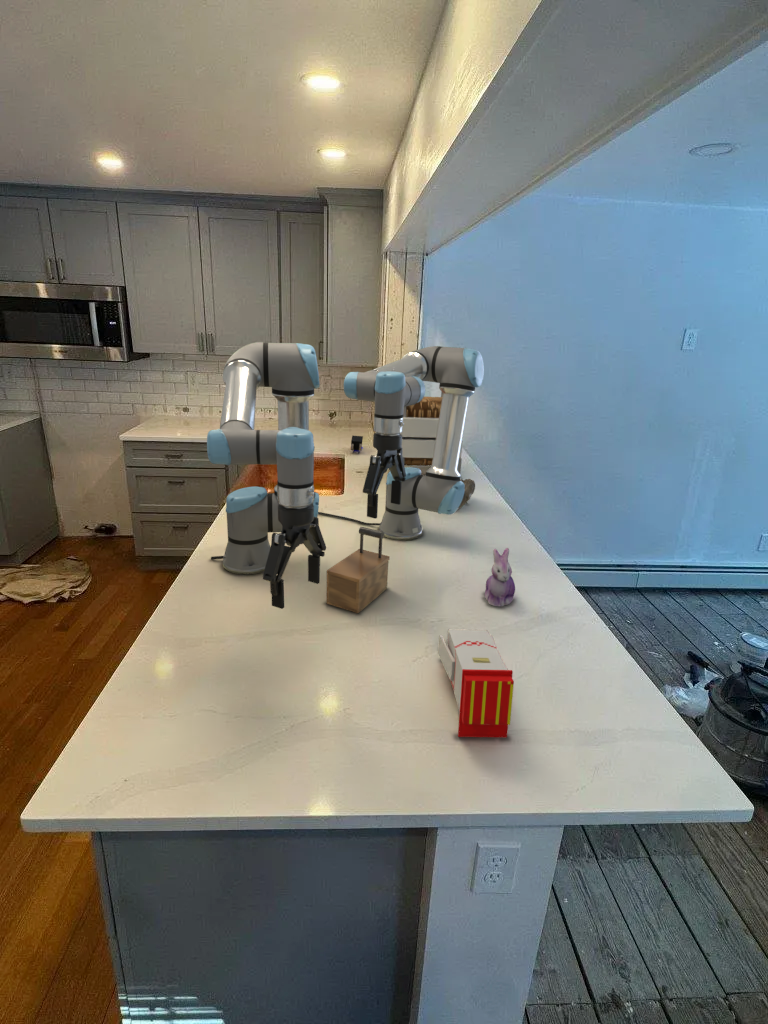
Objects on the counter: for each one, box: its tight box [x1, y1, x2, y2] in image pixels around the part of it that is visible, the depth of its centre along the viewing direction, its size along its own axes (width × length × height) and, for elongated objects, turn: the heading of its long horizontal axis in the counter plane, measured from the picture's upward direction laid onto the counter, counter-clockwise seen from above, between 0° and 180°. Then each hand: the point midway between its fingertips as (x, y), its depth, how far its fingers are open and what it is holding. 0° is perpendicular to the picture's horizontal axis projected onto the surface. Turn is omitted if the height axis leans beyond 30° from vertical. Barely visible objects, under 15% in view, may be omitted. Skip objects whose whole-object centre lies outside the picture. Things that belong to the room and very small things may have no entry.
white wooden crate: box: [400, 391, 465, 475], centre depth 268 cm, size 34×33×41 cm
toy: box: [437, 628, 515, 738], centre depth 117 cm, size 12×13×30 cm
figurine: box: [484, 547, 516, 607], centre depth 155 cm, size 9×10×15 cm
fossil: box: [457, 478, 476, 510], centre depth 232 cm, size 22×10×15 cm
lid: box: [326, 526, 391, 583], centre depth 152 cm, size 17×10×9 cm, turn 152°
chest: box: [326, 560, 389, 614], centre depth 154 cm, size 16×10×9 cm, turn 152°
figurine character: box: [350, 435, 364, 454], centre depth 309 cm, size 7×8×15 cm
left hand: (296, 593), depth 126 cm, fingers open, 13 cm apart
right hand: (384, 510), depth 154 cm, fingers open, 13 cm apart
